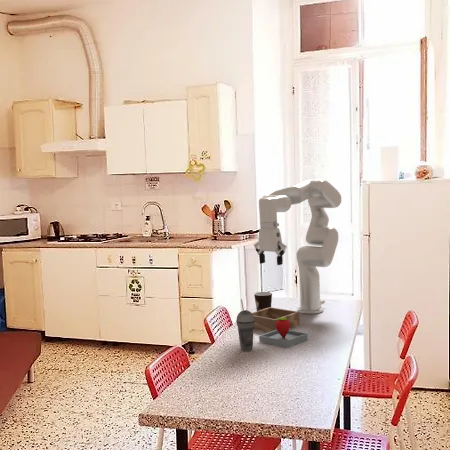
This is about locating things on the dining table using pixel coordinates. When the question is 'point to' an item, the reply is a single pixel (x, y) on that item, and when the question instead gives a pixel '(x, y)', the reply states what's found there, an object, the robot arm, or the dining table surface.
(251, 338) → the beverage cup
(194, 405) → the dining table surface
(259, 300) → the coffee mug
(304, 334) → the slate tray
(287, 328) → the strawberry
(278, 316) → the walnut bin
